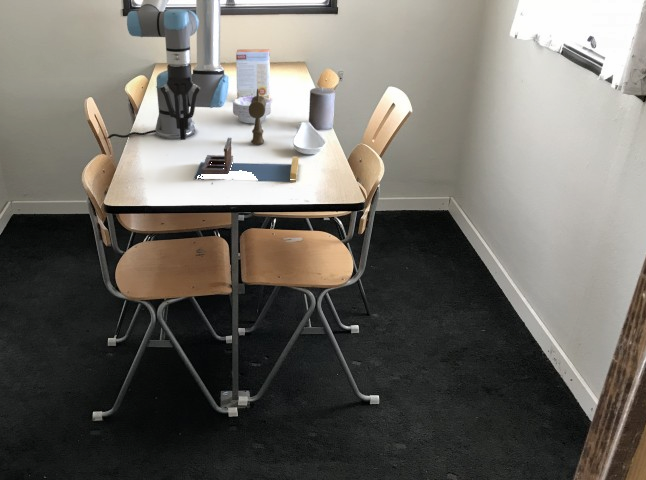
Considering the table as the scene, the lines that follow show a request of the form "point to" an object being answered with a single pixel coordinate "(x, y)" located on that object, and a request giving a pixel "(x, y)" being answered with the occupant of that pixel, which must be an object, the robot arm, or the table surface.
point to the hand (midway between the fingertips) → (183, 138)
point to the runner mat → (260, 171)
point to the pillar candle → (321, 108)
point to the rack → (219, 161)
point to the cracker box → (253, 72)
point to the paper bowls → (242, 109)
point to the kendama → (257, 117)
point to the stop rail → (294, 169)
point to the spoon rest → (308, 139)
